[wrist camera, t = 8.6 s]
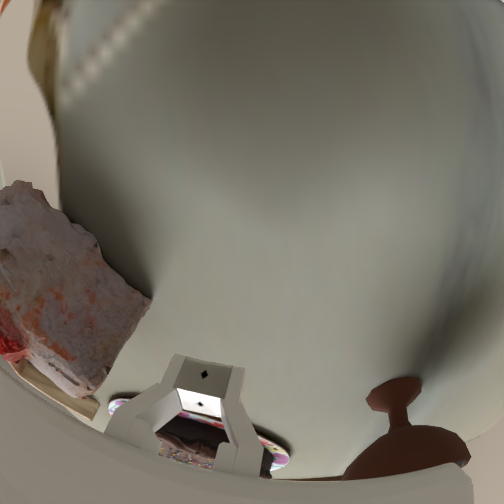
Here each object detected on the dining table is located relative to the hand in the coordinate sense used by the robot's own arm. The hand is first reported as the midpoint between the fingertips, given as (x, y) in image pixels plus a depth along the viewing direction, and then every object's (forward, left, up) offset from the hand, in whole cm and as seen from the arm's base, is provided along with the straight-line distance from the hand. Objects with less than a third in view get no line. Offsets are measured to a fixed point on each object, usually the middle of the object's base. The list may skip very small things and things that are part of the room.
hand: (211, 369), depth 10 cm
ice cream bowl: (+10, +15, -6) cm, 19 cm away
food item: (0, -12, -6) cm, 14 cm away
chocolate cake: (+31, -5, -7) cm, 33 cm away
